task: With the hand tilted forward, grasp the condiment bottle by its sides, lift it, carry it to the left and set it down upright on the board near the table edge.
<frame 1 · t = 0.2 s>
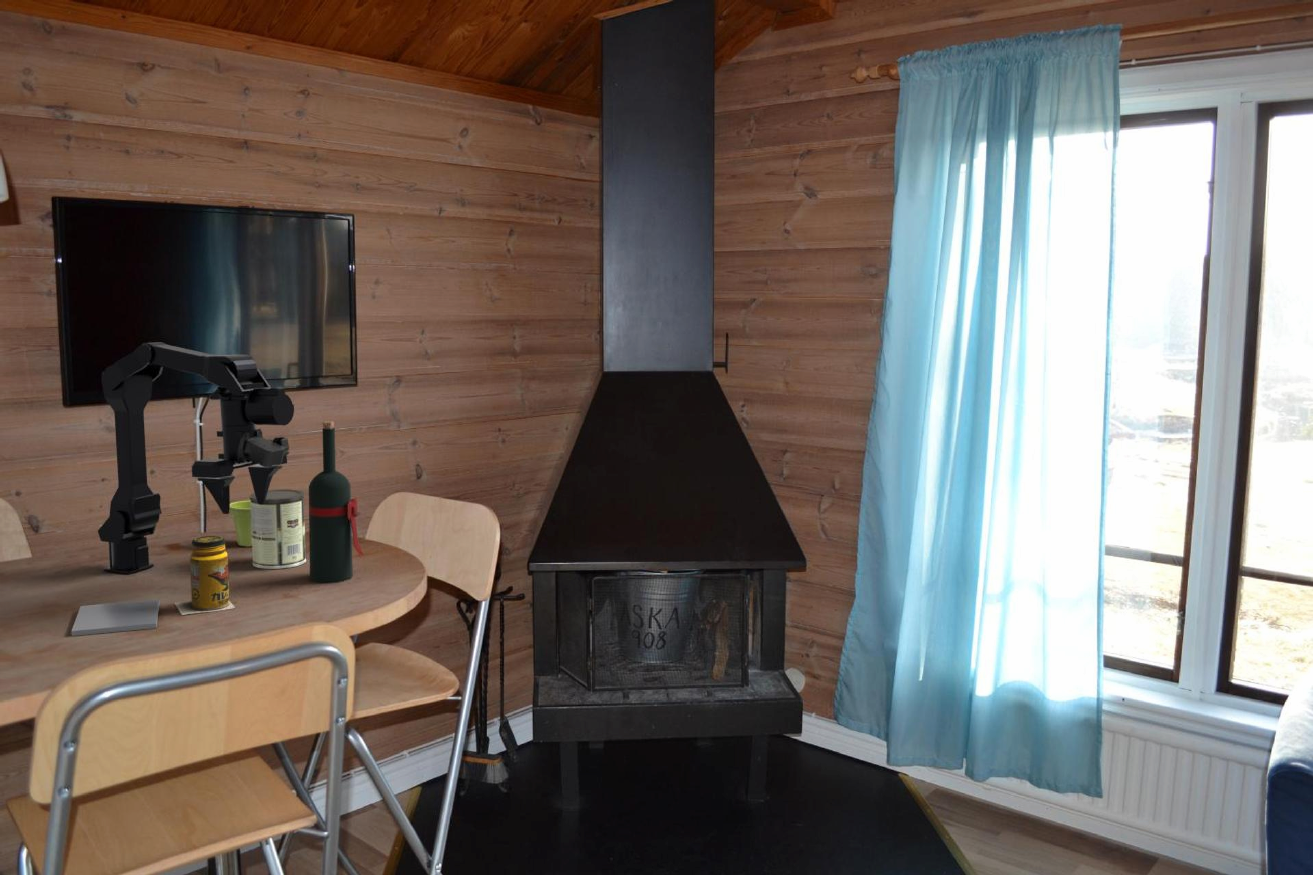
hand: (244, 509, 193), 14 cm above the table, tool pointing down, fingers open, 9 cm apart
plant pot: (253, 544, 226), on the table
coffee can: (279, 563, 211), on the table
condiment: (205, 607, 182), on the table
wine bottle: (337, 578, 201), on the table
board: (117, 619, 174), on the table
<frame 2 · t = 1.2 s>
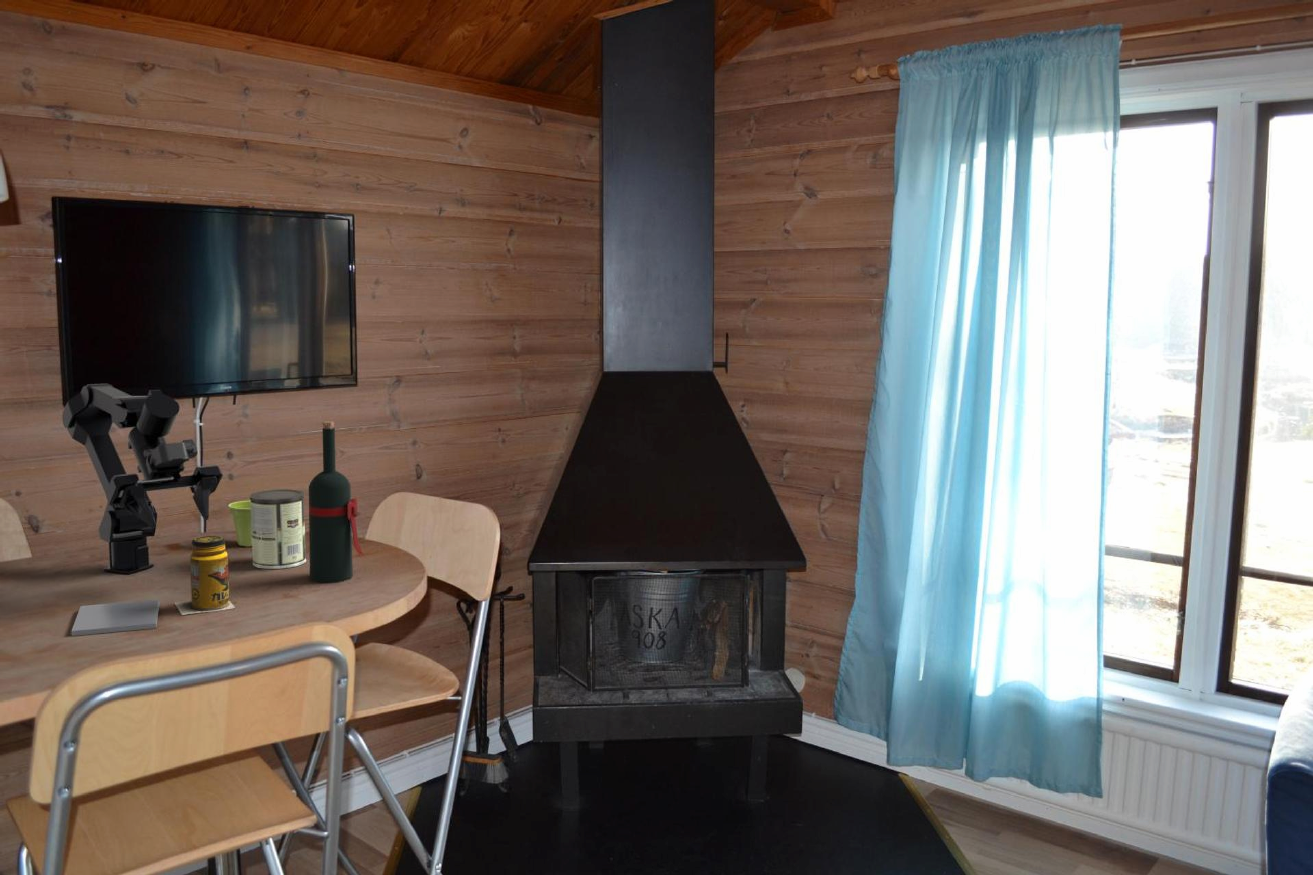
hand: (181, 522, 185), 13 cm above the table, tool tilted 45°, fingers open, 9 cm apart
nothing on the table moved.
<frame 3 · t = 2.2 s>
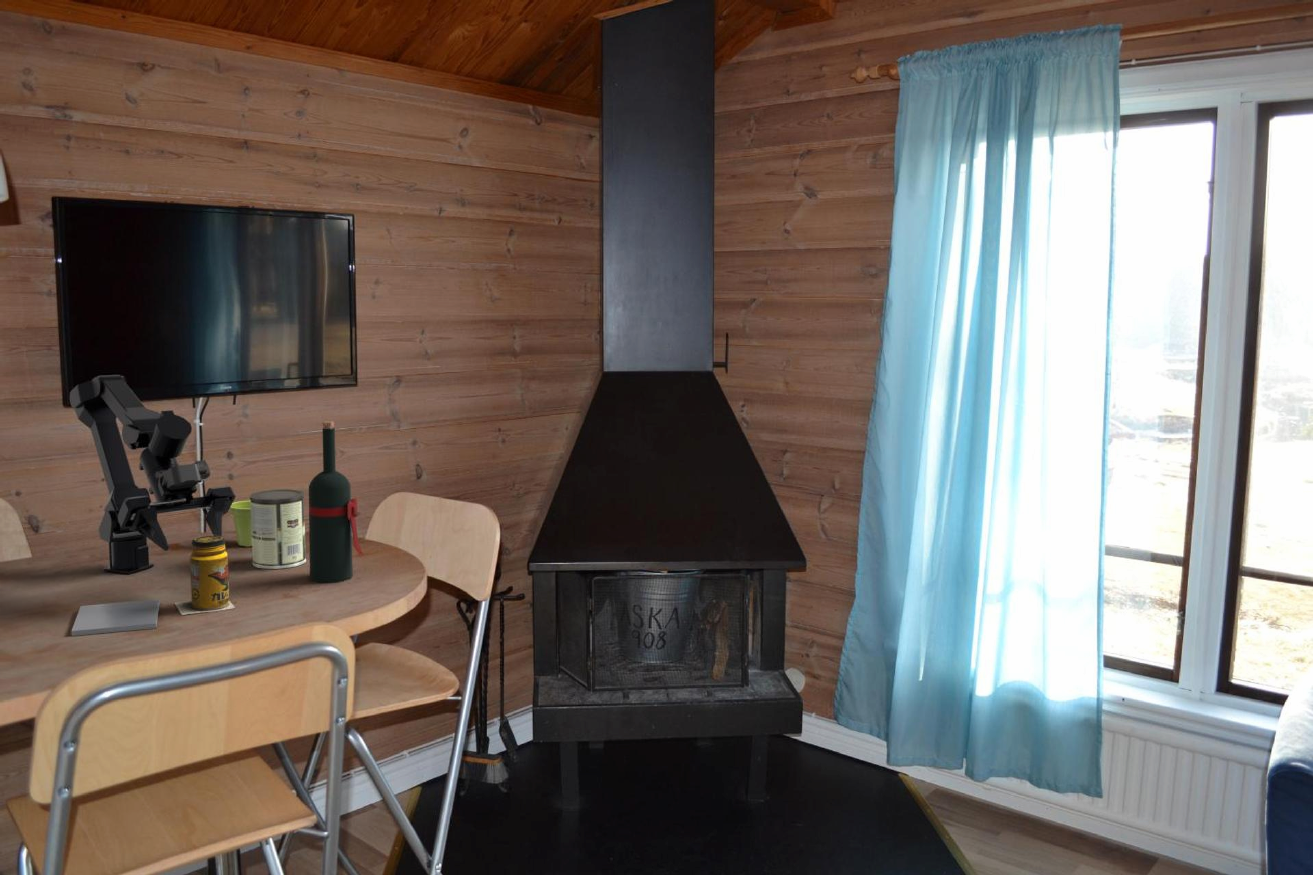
hand: (194, 545, 182), 10 cm above the table, tool tilted 45°, fingers open, 9 cm apart
nothing on the table moved.
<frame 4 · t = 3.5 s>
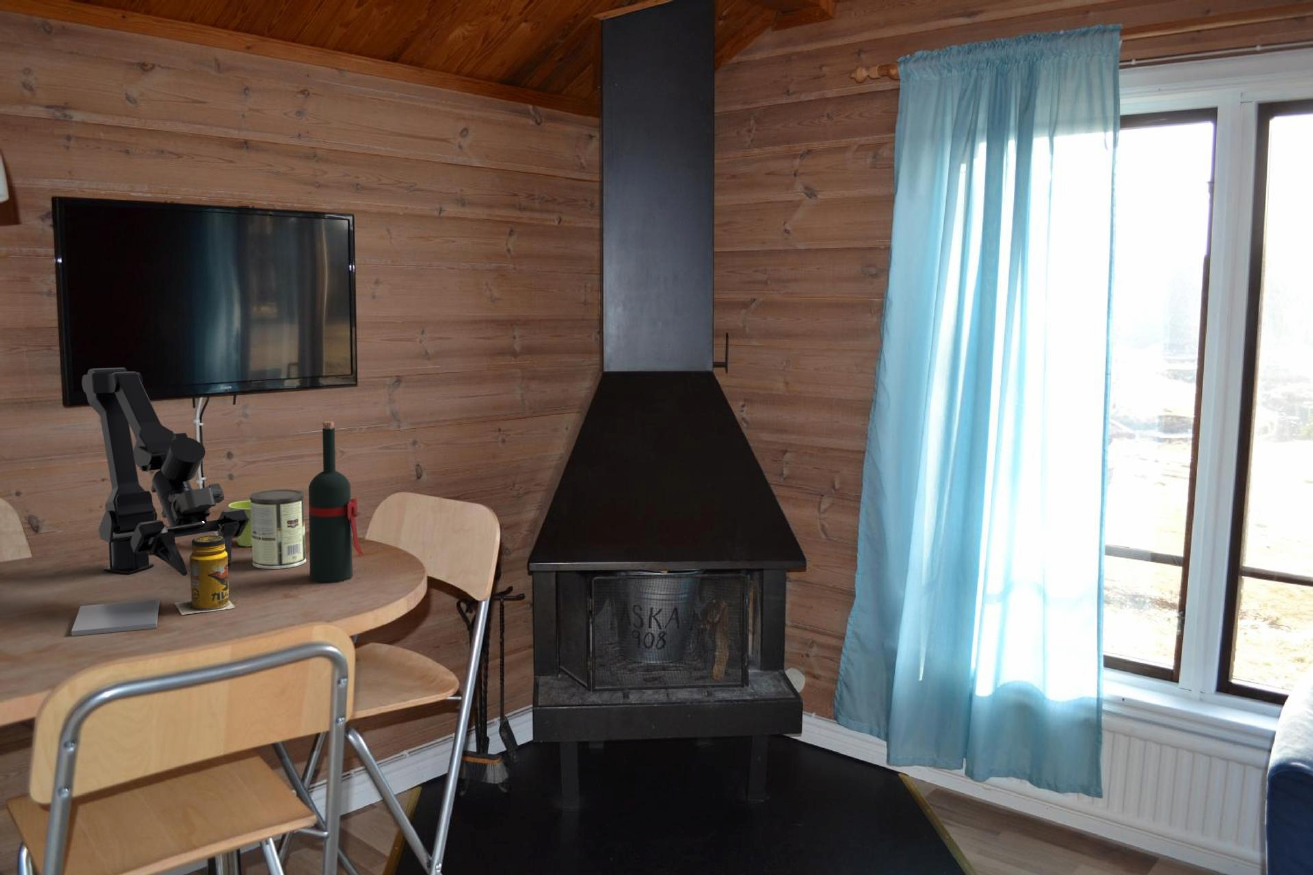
hand: (208, 570, 180), 7 cm above the table, tool tilted 45°, fingers open, 7 cm apart
condiment: (205, 607, 182), on the table, touching gripper
everything else where it was.
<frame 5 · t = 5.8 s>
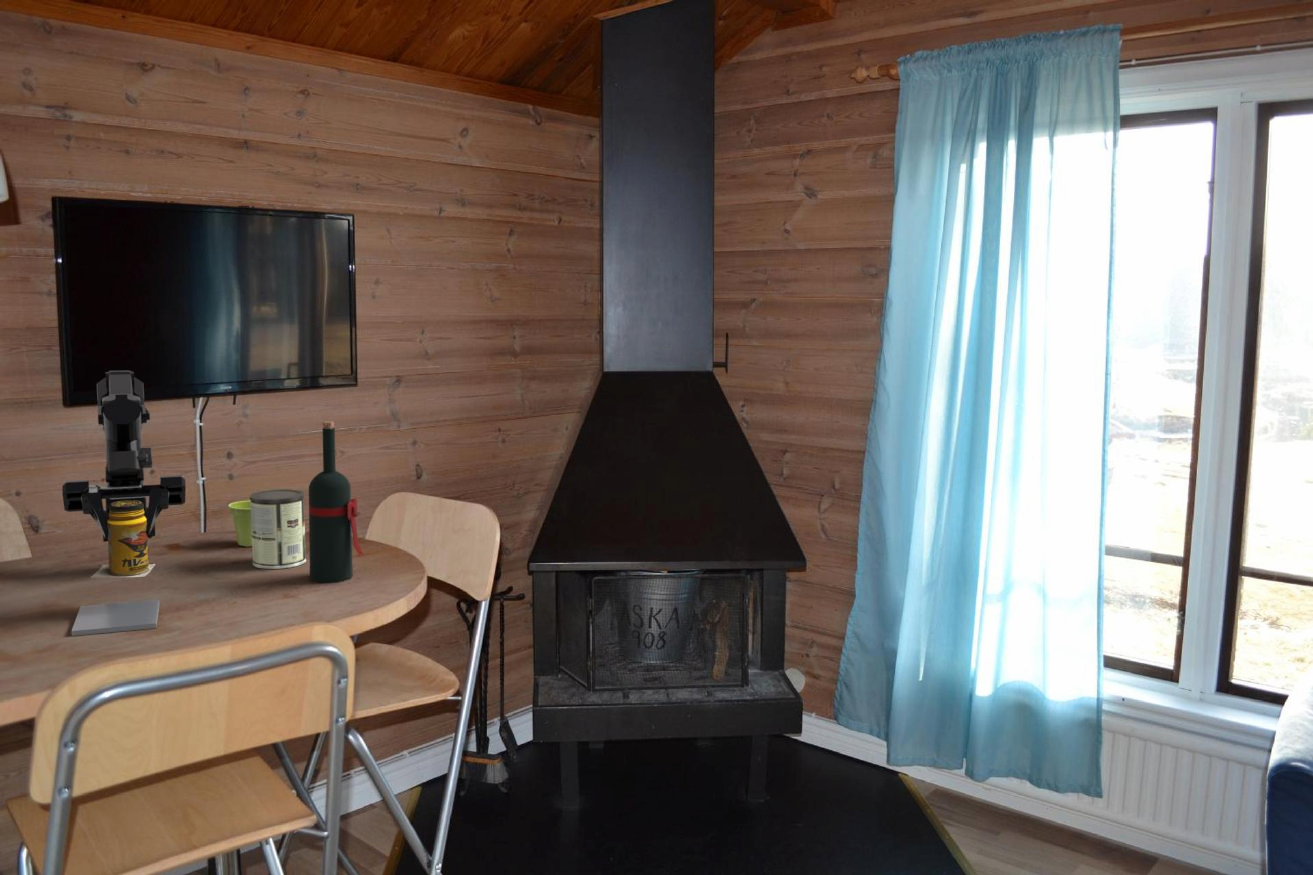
hand: (127, 534, 176), 13 cm above the table, tool tilted 45°, fingers closed on condiment, 6 cm apart
condiment: (124, 573, 178), point 6 cm above the table, touching gripper
everything else where it was.
when the fingers open (8 cm above the table, at t = 7.9 s): condiment stays where it is, resting on board.
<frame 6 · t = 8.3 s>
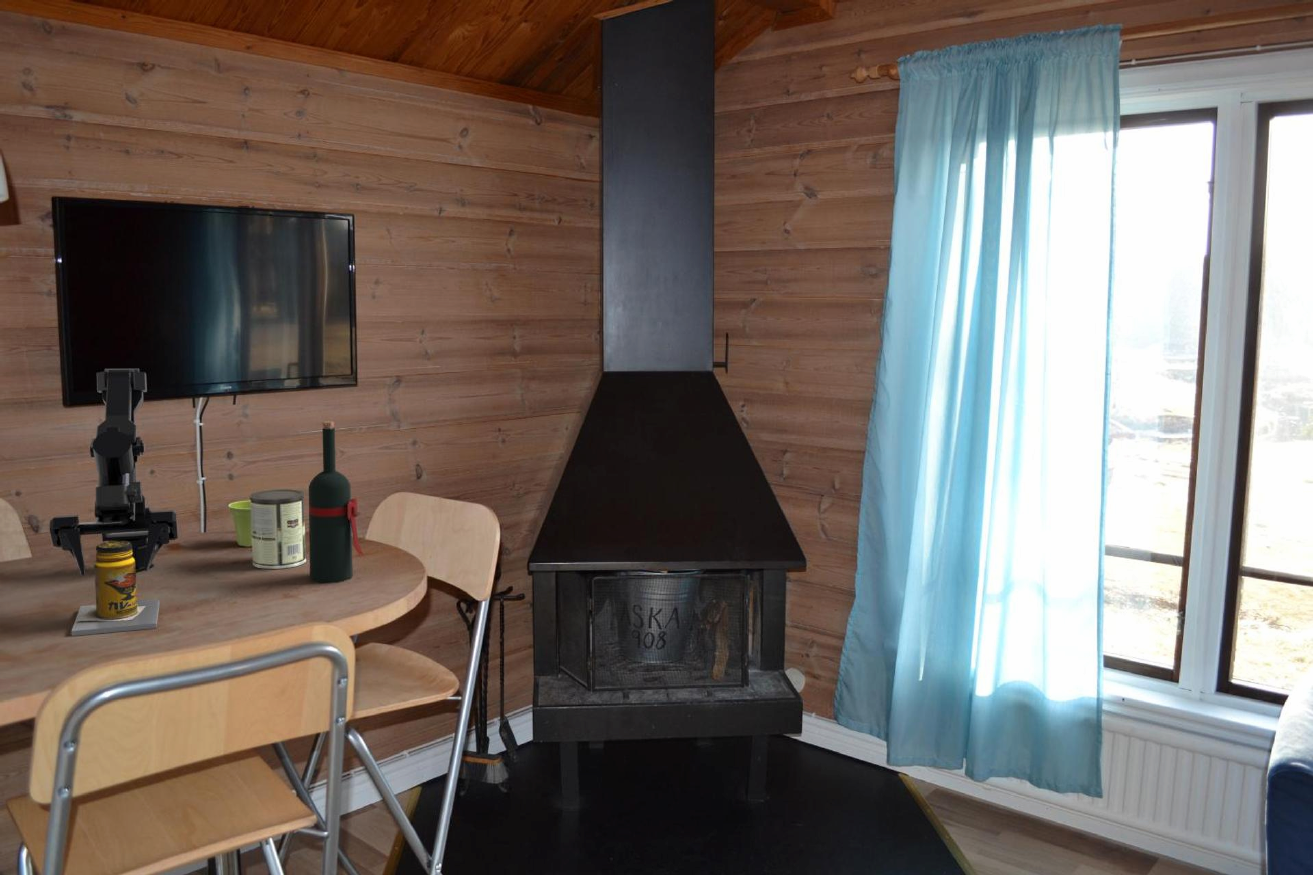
hand: (114, 571, 171), 8 cm above the table, tool tilted 45°, fingers open, 9 cm apart
condiment: (112, 615, 173), point 1 cm above the table, touching board
everything else where it was.
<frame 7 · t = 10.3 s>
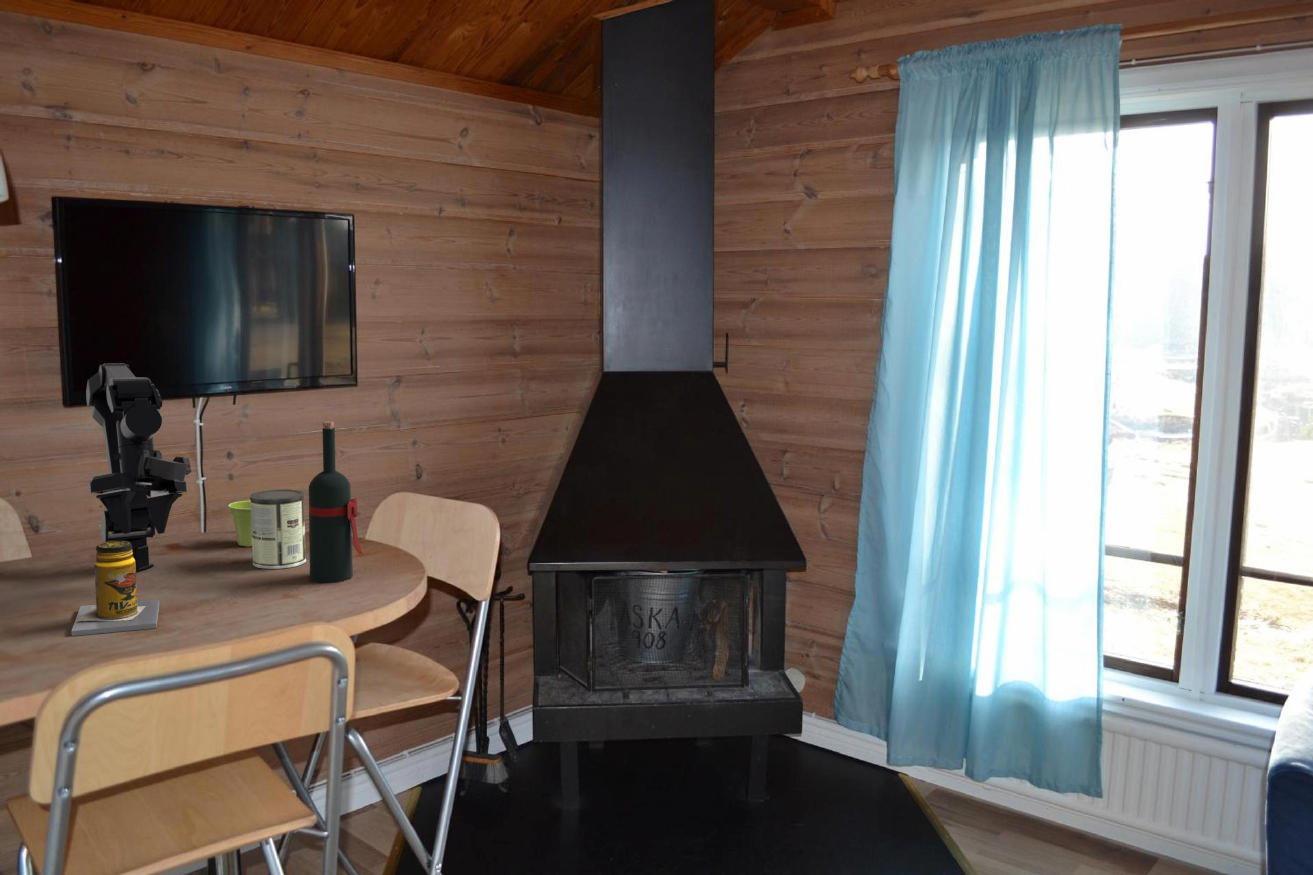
hand: (144, 533, 186), 11 cm above the table, tool tilted 20°, fingers open, 9 cm apart
nothing on the table moved.
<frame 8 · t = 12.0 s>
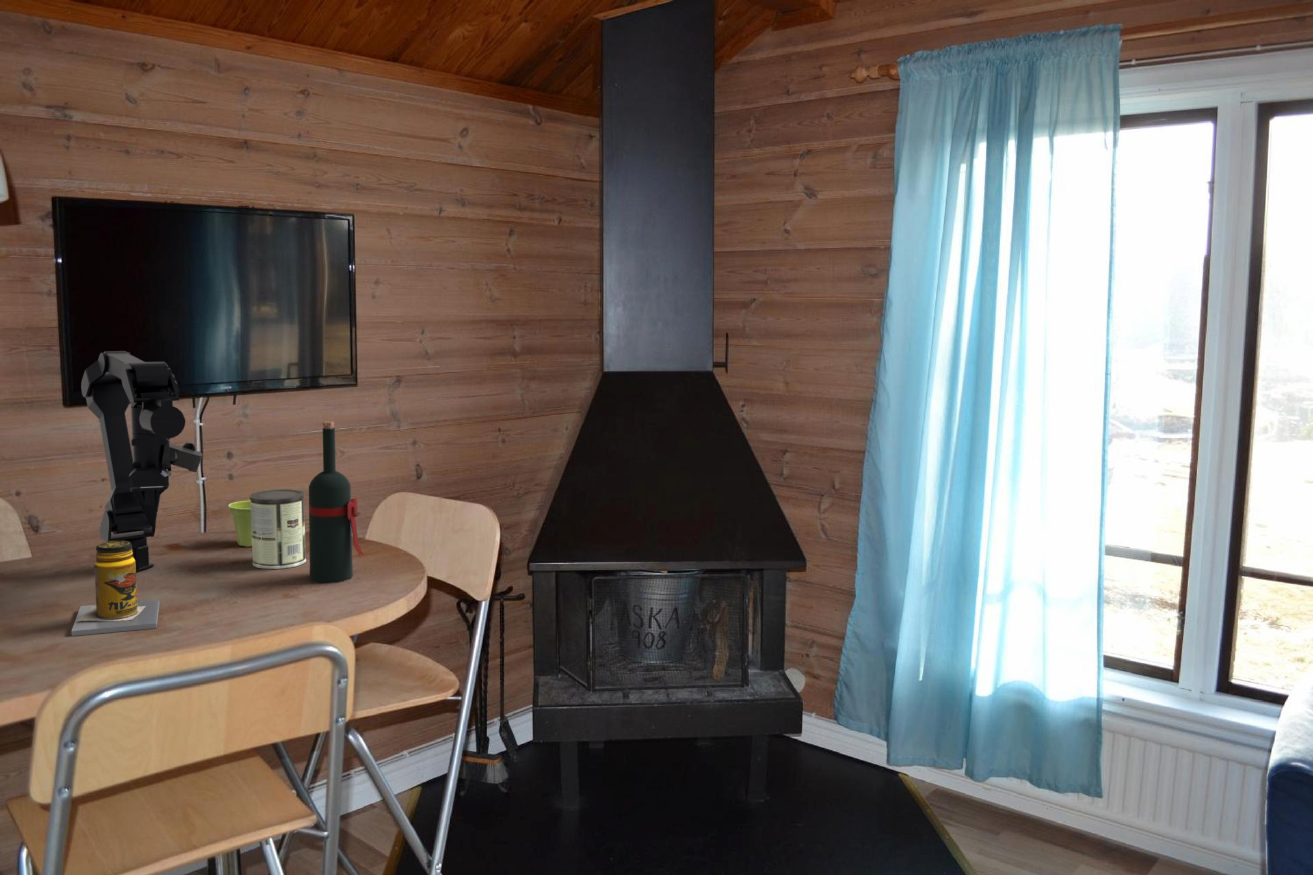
hand: (153, 517, 190), 13 cm above the table, tool pointing down, fingers open, 9 cm apart
nothing on the table moved.
at the end: condiment 0.9 cm from the board (horizontally); condiment touching board; condiment tilted 0° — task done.
